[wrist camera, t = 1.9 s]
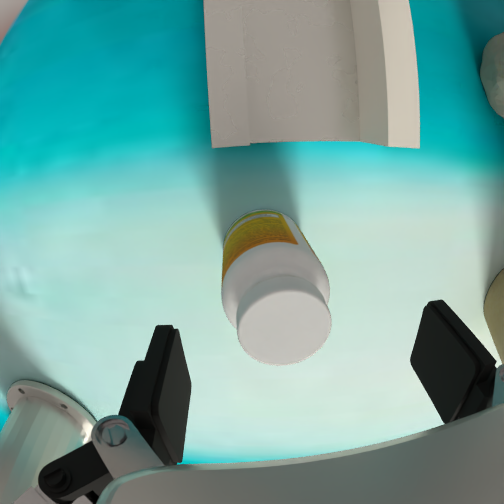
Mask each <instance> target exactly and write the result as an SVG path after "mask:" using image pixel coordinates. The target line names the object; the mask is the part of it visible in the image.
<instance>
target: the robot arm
mask: <svg viewBox="0 0 504 504" xmlns="http://www.w3.org/2000/svg"><path fill="white" fill-rule="evenodd" d="M410 362H411V366H412V367H413V369H414V371H415V372H416V374H417V376H418V378H419V379H420V381H421V383H422V385H423V386H424V388H425V390H426V392H427V393H428V395H429V397H430V399H431V401H432V402H433V404H434V406H435V408H436V410H437V411H438V413H439V415H440V417H441V419H442V421H443V422H444V423H445V424H444V425H441V426H438V427H435V428H432V429H429V430H426V431H422V432H419V433H416V434H412V435H409V436H405V437H401V438H398V439H394V440H390V441H386V442H382V443H377V444H373V445H369V446H364V447H359V448H354V449H349V450H344V451H338V452H333V453H327V454H320V455H314V456H306V457H299V458H290V459H281V460H270V461H256V462H240V463H214V464H181V465H177V463H181V462H182V459H183V450H184V442H185V434H186V426H187V418H188V410H189V403H190V395H191V380H190V376H189V372H188V368H187V364H186V360H185V355H184V351H183V347H182V343H181V338H180V334H179V330H178V329H174V328H173V326H172V325H157V326H156V327H155V330H154V333H153V336H152V339H151V342H150V345H149V348H148V351H147V354H146V357H145V360H144V361H137V362H136V364H135V366H134V369H133V372H132V375H131V378H130V381H129V383H128V386H127V389H126V392H125V395H124V398H123V401H122V405H121V408H120V411H119V414H118V415H110V416H107V417H104V418H102V419H100V420H99V421H98V422H96V421H95V420H94V418H93V417H92V416H91V415H90V414H89V413H88V412H87V411H86V410H85V409H84V408H83V407H82V406H80V405H79V404H78V403H77V402H75V401H74V400H72V399H71V398H70V397H68V396H67V395H65V394H63V393H61V392H60V391H58V390H56V389H54V388H52V387H50V386H47V385H45V384H42V383H39V382H34V381H30V380H21V381H17V382H15V383H13V384H12V385H11V387H10V388H9V390H8V392H7V403H8V406H9V408H10V410H11V414H10V415H9V417H8V419H7V421H6V423H5V425H4V427H3V428H2V430H1V432H0V504H504V364H502V365H500V366H499V367H498V368H496V367H495V364H496V362H497V361H496V360H495V359H494V358H493V356H492V355H491V354H490V353H489V352H488V350H487V349H486V348H485V347H484V346H483V344H482V343H481V342H480V341H479V340H478V339H477V337H476V336H475V335H474V334H473V333H472V332H471V330H470V329H469V328H468V327H467V326H466V325H465V324H464V323H463V321H462V320H461V319H460V318H459V317H458V316H457V315H456V314H455V313H454V311H453V310H452V309H451V308H450V307H449V306H448V305H447V304H446V303H445V302H444V301H443V300H436V301H430V302H428V304H427V306H425V307H424V310H423V314H422V318H421V322H420V325H419V329H418V333H417V337H416V340H415V344H414V347H413V351H412V354H411V358H410Z"/></svg>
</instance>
